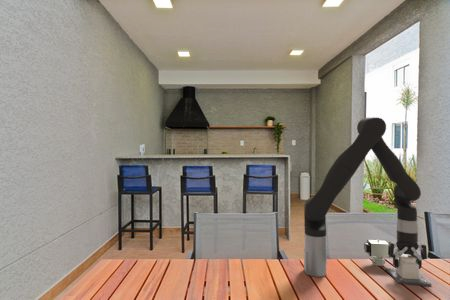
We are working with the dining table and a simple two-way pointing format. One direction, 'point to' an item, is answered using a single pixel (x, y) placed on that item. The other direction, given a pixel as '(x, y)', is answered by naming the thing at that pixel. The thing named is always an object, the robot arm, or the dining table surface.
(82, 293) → the dining table surface
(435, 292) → the dining table surface
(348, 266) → the dining table surface
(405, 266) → the knob
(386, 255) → the pneumatic valve
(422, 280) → the shaft mount
